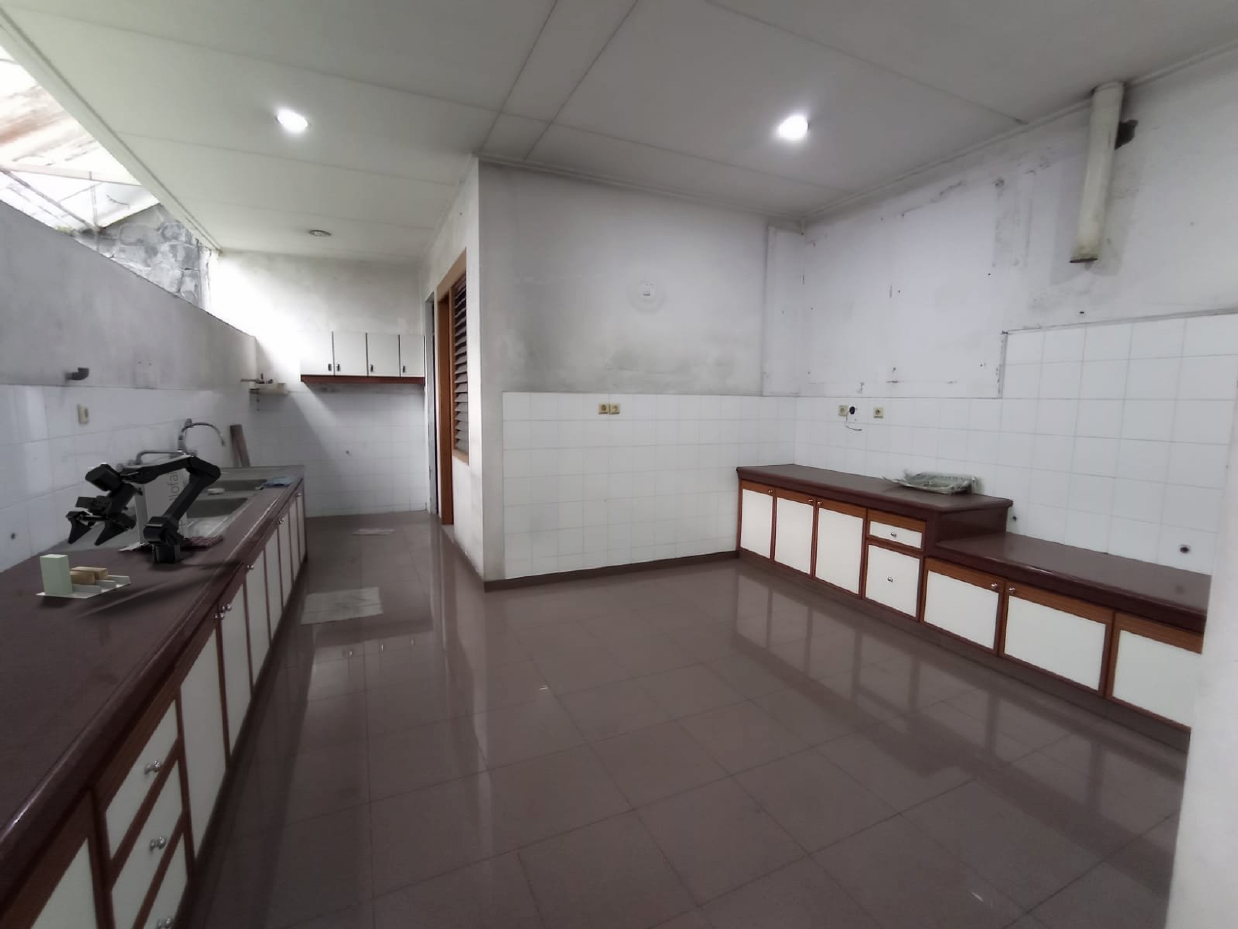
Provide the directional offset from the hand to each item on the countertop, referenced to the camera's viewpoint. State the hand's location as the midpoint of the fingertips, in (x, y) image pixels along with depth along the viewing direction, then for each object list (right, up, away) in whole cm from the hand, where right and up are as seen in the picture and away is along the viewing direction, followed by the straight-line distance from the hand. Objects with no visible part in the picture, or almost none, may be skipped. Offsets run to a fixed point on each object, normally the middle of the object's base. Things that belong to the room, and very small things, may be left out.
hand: (82, 544), depth 163 cm
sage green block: (-1, -13, -6) cm, 14 cm away
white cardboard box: (-15, -7, +48) cm, 51 cm away
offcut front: (0, -12, +2) cm, 12 cm away
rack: (+2, -14, -1) cm, 14 cm away
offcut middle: (-1, -13, -1) cm, 13 cm away
